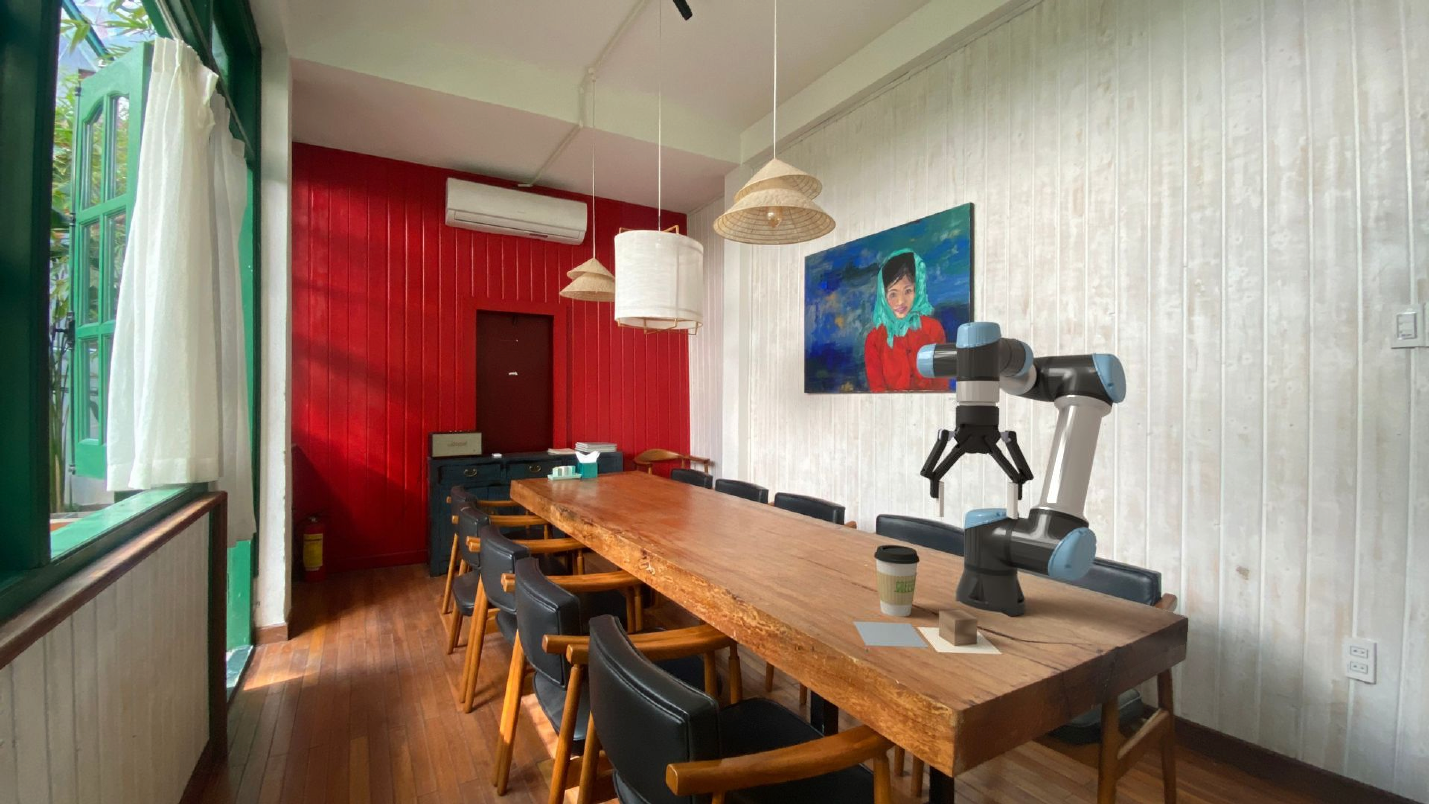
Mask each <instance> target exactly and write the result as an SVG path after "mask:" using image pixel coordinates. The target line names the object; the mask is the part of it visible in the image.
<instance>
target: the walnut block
mask: <svg viewBox="0 0 1429 804" xmlns="http://www.w3.org/2000/svg"><path fill="white" fill-rule="evenodd" d="M938 628H939V636H940V637H941V638H943V639H944V640H946V641H948V642H949V643H951V644H952V645H954V646H961V645H972V644H977V631H978V618H977V617H975V616H973V615H971V614H970V613H969V612H966V611H964V610H962V609H952V610H950V609H949V610H948V609H947V610H939V611H938Z"/></svg>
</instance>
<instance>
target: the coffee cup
mask: <svg viewBox="0 0 1429 804" xmlns="http://www.w3.org/2000/svg"><path fill="white" fill-rule="evenodd" d="M873 557H874V558H875V559H876V560H875V561H876V568H875V569H876V570H875V571H876V578H877V580H876V581H877V589H878V598H879V603H880V611H881V612H882V613H883V614H884V615H888V616H889V617H891V616H892V617H895V618H896V617H898V618H905V617H909V616H910V615H911V612H912V611H911V610H912V607H913V606H912V605H913V602H914V596H915V589H916V582H917V575H918V574H917V573H918V572H917V570H918V569H917V567H918V563H919V562H920V560H921V559H920V556H919V555H918V552H917V550H916V549H915V548H912V547H909V546H904V545H897V544H885V545H879V546H877V548H876V551H875V552H874V555H873Z"/></svg>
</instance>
